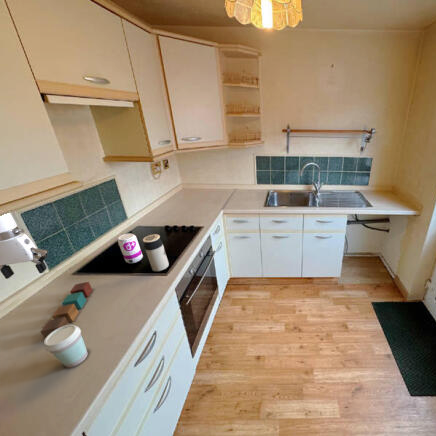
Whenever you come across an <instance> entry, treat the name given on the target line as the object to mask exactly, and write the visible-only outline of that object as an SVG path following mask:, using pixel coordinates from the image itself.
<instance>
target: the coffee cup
mask: <svg viewBox="0 0 436 436" xmlns="http://www.w3.org/2000/svg"><path fill="white" fill-rule="evenodd" d="M43 348H44V351H46V352H49V353H50V354H51V355H52V356H53V357H55V358H56V359H57V360H58V361H59V362H60V363H61V364H62V365H64V366H65V367H66V368H73V367H76V366H78V365H80V364H81V363H82V362H84V360H85V359H87V357H88V355H89V354H88V350H87V346H86V343H85V342H84V339H83V336H82V329H81V328H80V327H79V326H77V325H75V324H70V325H65V326H62V327H60V328H58V329H56V330H54V331H53V332H52V333H50V334H49V335H48V336H47V337H46V339H45V338H44V341H43Z"/></svg>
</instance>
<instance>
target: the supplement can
mask: <svg viewBox="0 0 436 436" xmlns="http://www.w3.org/2000/svg"><path fill="white" fill-rule="evenodd" d="M117 243H118V246H119V248H120V251H121V254H122V255H123V259H124V261H125V262H126V263H128V264H135V263H138V262H140V261H141V260H143V257H144V255H143V253H142V249H141V247H140V244H139V241H138V238H137V236H136V235H135V234H134V233H132V232H131V233H129V232H128V233H124V234H121V235H120V236H118V238H117Z"/></svg>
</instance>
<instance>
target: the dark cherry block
mask: <svg viewBox="0 0 436 436" xmlns="http://www.w3.org/2000/svg"><path fill="white" fill-rule="evenodd" d="M79 292H82V293H83V295H84V297H85V299H87V298H89V297H90V295H91V293H92V292H93V287H92V286H91V283H90V282H89V281H85V282H80V283H75V284H74V285H73V286H72V288H71V290H70V291H69V293H70V294H74V293H79Z"/></svg>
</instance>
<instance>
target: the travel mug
mask: <svg viewBox="0 0 436 436" xmlns="http://www.w3.org/2000/svg"><path fill="white" fill-rule="evenodd" d="M160 237H161V235H160V234H157V233H156V234H155V233H154V234H149V235H147V236H145V237H144V238H142V242H144V243H143V247H144V250H145V253H146V256H147V258H148V261H149V264H150V268H151V269H152V271H153V272H161V271H163V270H166V269H167V268H168V267H169V266H170V265H169V264H170V263H169V260H168V257H167V253H166V250H165V247H164V246H165V245H164V243H163V240H162V239H160Z"/></svg>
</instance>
